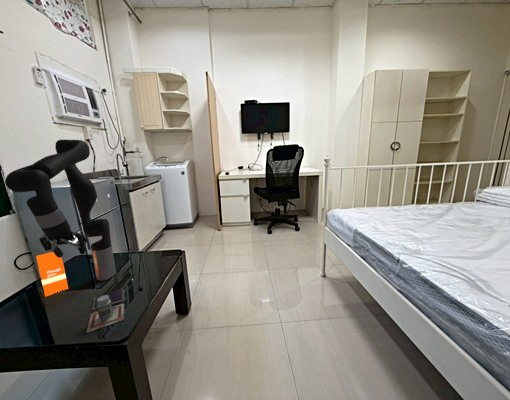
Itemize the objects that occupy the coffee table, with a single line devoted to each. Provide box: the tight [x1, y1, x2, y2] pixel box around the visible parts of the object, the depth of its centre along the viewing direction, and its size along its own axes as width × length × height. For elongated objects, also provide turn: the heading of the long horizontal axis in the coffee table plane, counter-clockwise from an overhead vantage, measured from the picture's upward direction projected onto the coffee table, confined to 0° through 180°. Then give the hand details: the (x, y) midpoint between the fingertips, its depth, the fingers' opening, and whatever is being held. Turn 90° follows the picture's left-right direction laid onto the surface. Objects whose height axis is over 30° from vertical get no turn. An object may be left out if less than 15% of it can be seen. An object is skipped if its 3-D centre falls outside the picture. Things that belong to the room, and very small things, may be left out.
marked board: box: [85, 303, 125, 334], centre depth 88 cm, size 12×12×1 cm
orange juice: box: [36, 251, 69, 297], centre depth 109 cm, size 8×9×20 cm
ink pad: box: [91, 288, 125, 311], centre depth 100 cm, size 12×10×2 cm
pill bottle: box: [96, 295, 113, 320], centre depth 88 cm, size 5×5×8 cm
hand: (72, 254), depth 88 cm, fingers open, 8 cm apart
